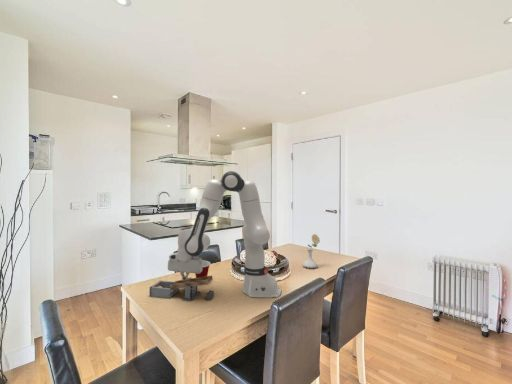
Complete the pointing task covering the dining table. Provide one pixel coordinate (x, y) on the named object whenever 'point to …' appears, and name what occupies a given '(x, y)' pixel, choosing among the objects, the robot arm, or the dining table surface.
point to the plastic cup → (204, 269)
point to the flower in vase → (310, 262)
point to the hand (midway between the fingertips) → (184, 279)
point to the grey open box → (163, 289)
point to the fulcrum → (190, 293)
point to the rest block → (209, 295)
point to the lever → (192, 282)
